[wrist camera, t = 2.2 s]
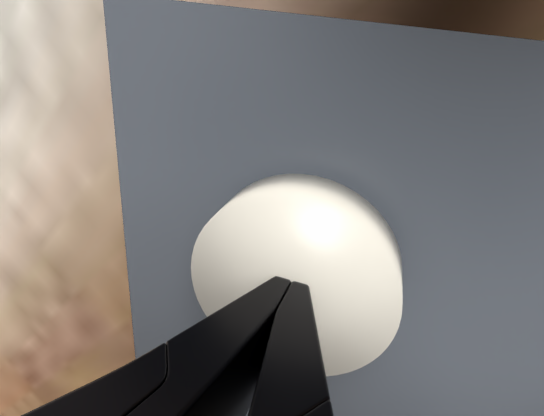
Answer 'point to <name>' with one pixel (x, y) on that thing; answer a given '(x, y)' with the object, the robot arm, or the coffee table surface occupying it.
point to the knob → (308, 261)
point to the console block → (347, 179)
